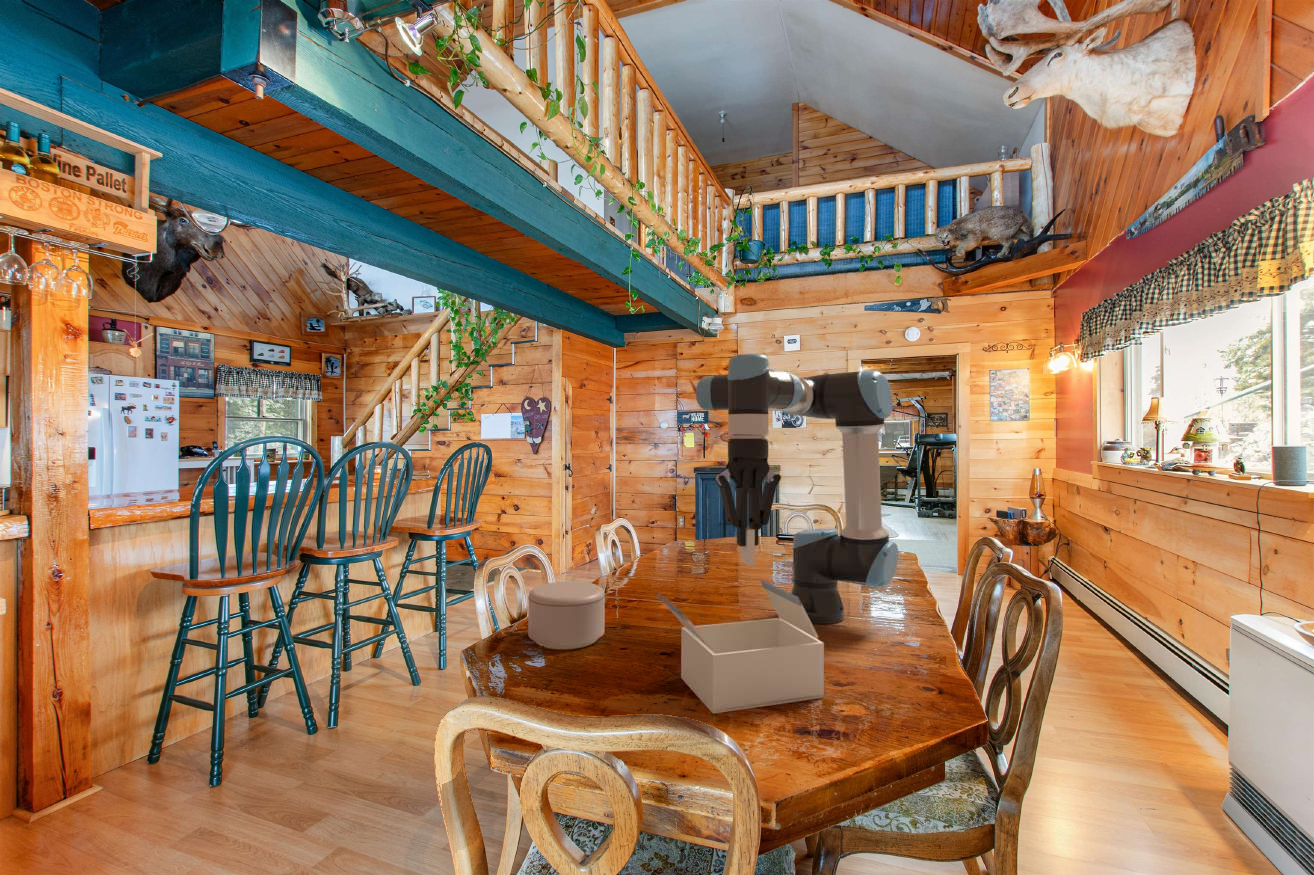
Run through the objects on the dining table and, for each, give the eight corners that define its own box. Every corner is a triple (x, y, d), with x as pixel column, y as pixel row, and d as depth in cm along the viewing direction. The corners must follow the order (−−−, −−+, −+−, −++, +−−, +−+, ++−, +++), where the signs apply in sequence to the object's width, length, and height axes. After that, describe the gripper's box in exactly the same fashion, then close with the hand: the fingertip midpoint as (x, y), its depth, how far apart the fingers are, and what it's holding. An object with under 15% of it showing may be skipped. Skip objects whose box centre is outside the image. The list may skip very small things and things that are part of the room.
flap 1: (658, 593, 114) (656, 595, 114) (683, 613, 101) (681, 615, 101) (686, 624, 116) (684, 626, 116) (714, 648, 103) (712, 650, 103)
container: (553, 658, 127) (554, 603, 127) (514, 636, 141) (514, 587, 141) (619, 639, 139) (620, 590, 139) (577, 622, 153) (577, 576, 153)
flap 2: (778, 617, 122) (780, 615, 123) (816, 638, 109) (818, 637, 109) (760, 581, 121) (762, 579, 121) (796, 598, 108) (798, 597, 108)
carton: (779, 665, 124) (780, 617, 124) (823, 697, 108) (823, 643, 108) (681, 677, 117) (681, 627, 117) (712, 713, 102) (713, 655, 102)
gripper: (769, 437, 116) (769, 557, 116) (708, 437, 112) (707, 561, 112) (789, 437, 109) (788, 565, 109) (724, 437, 105) (723, 569, 105)
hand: (747, 563), depth 111 cm, fingers closed
